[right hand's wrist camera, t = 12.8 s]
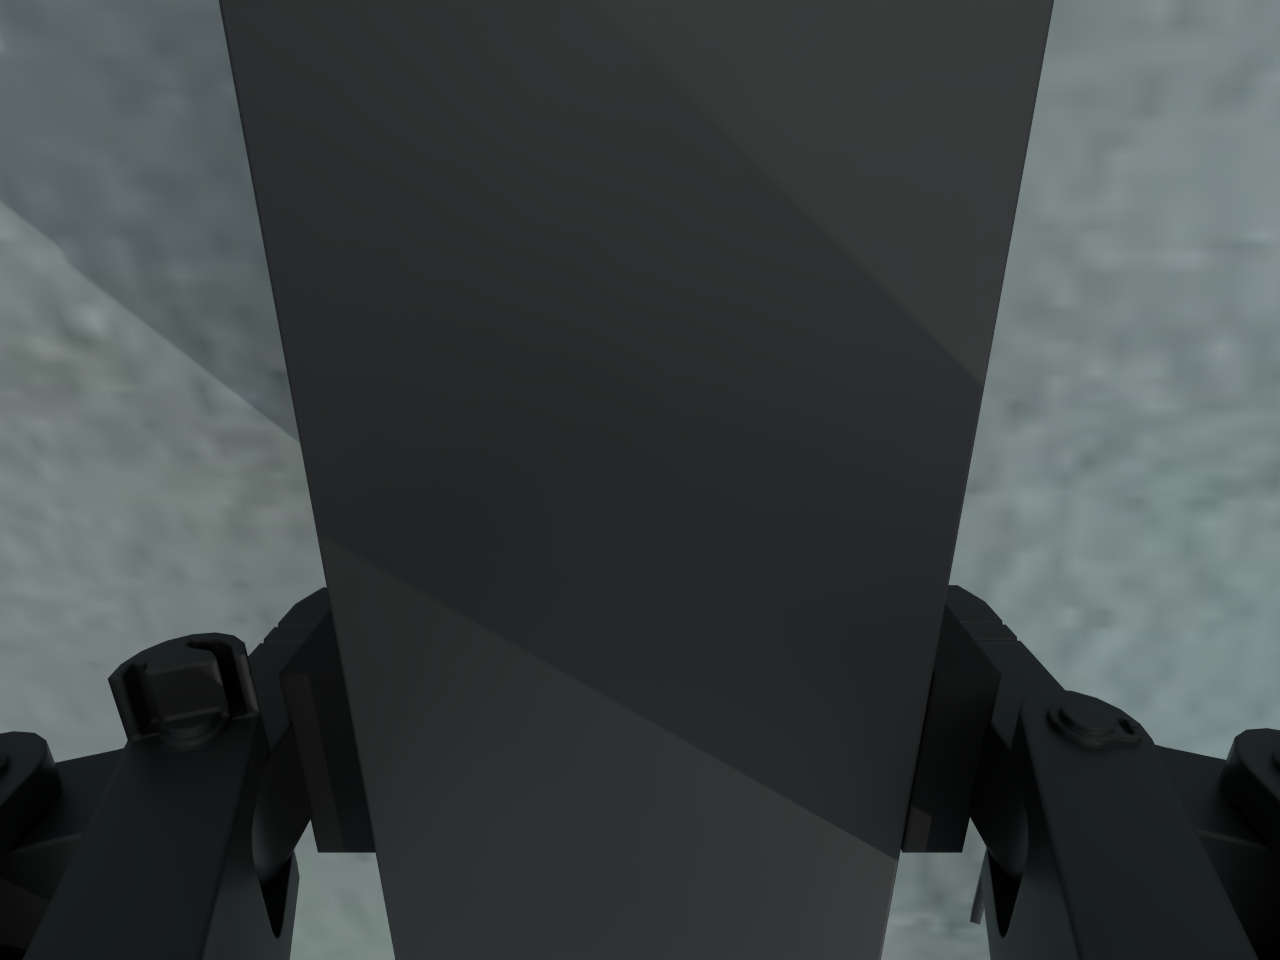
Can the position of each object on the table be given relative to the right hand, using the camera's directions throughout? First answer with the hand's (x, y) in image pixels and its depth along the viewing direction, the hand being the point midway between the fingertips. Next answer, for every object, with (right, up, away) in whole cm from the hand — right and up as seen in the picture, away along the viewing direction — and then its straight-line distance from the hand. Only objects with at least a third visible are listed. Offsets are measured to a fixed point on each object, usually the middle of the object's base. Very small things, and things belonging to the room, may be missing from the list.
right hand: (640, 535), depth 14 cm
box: (0, +7, 0) cm, 7 cm away
